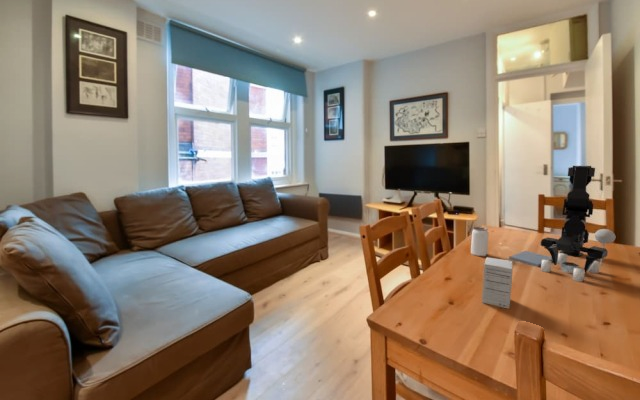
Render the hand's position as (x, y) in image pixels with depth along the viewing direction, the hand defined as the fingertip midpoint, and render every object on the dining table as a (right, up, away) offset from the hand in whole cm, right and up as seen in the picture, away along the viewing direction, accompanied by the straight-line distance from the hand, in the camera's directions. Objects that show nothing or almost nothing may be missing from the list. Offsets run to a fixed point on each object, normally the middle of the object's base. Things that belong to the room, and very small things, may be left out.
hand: (569, 268), depth 112 cm
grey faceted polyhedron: (0, -1, 0) cm, 1 cm away
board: (-5, +1, +13) cm, 14 cm away
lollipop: (+18, 0, +6) cm, 18 cm away
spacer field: (0, -1, 0) cm, 1 cm away
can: (-24, +1, +21) cm, 32 cm away
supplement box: (-42, -5, -21) cm, 47 cm away
